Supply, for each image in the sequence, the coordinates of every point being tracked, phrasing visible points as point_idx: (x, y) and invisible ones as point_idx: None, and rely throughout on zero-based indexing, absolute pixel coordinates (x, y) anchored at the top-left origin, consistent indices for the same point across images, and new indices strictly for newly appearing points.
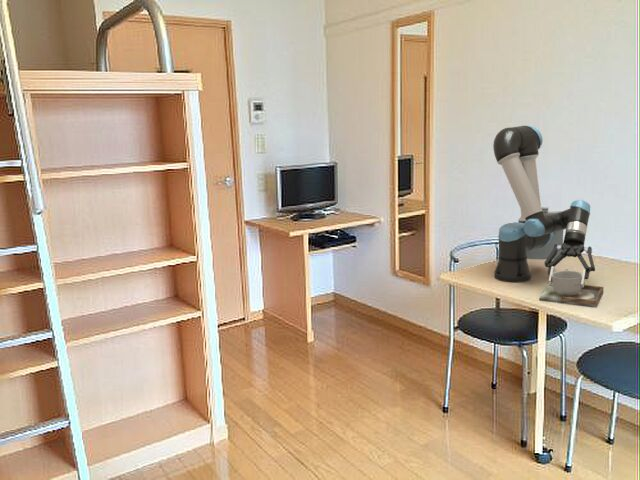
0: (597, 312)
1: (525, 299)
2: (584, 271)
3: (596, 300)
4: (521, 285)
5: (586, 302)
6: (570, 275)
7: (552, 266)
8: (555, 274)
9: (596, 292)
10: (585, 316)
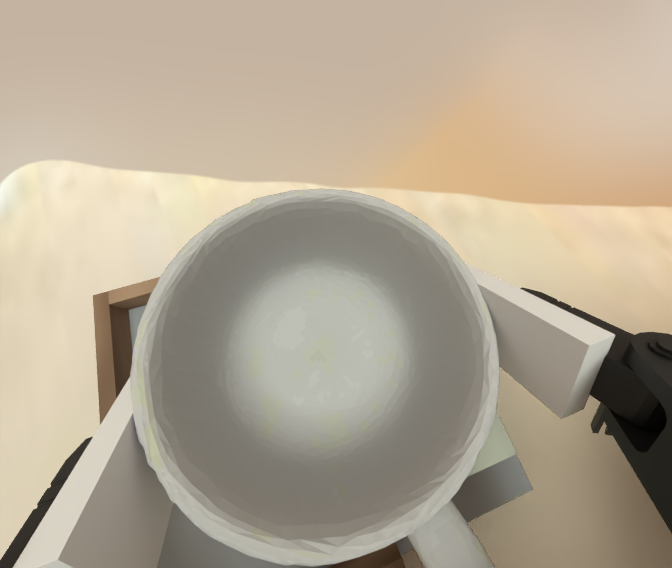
0: (103, 247)
1: (451, 203)
2: (64, 498)
3: (94, 304)
4: None
5: None
6: (361, 493)
7: (598, 338)
8: (470, 349)
9: (181, 566)
10: (140, 176)
